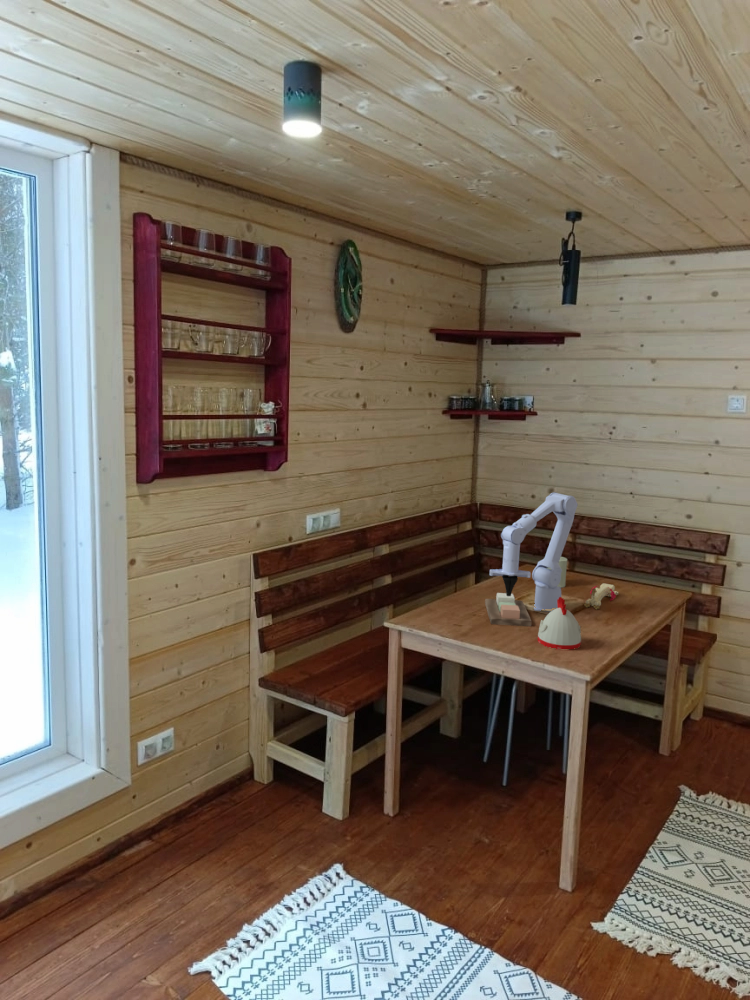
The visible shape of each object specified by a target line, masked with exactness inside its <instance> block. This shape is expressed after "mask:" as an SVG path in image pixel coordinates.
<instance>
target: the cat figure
mask: <svg viewBox="0 0 750 1000" xmlns="http://www.w3.org/2000/svg"><path fill="white" fill-rule="evenodd" d="M615 587H616V586H615V585H614V584H609V583H605V582H604V583H602V584H601V585H595V586H593V587H591V590H590V591H589V594H590V595H591V598H588V599H587V600H585V602H584V604H583V605H584V607H585V608H590V607H593V609H594V610H598V609H599V610H600V607H601V606H602V602H601V601H602V599H603V598H604V597H610V599H609V602H611V601H614V600H615V599H616V597H617V595H619V591H617V590H615Z"/></svg>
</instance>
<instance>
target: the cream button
mask: <svg viewBox="0 0 750 1000" xmlns="http://www.w3.org/2000/svg"><path fill="white" fill-rule="evenodd" d="M495 599H496V602H497V605H498V604H499V602H510V603H514V601H515V595H514V593H511V596H507V595H506V592H504V593H503V592H497V593H496V598H495Z"/></svg>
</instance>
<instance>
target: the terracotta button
mask: <svg viewBox="0 0 750 1000" xmlns="http://www.w3.org/2000/svg"><path fill="white" fill-rule="evenodd" d="M500 614H501V617H502V618H509V619H519V618H520V609H519V607H518V606H517V605H501V613H500Z"/></svg>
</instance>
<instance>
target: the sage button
mask: <svg viewBox="0 0 750 1000" xmlns="http://www.w3.org/2000/svg"><path fill="white" fill-rule="evenodd" d="M501 605H516V604H515V603H510V602H499V604H498V609H499V612H501Z"/></svg>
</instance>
